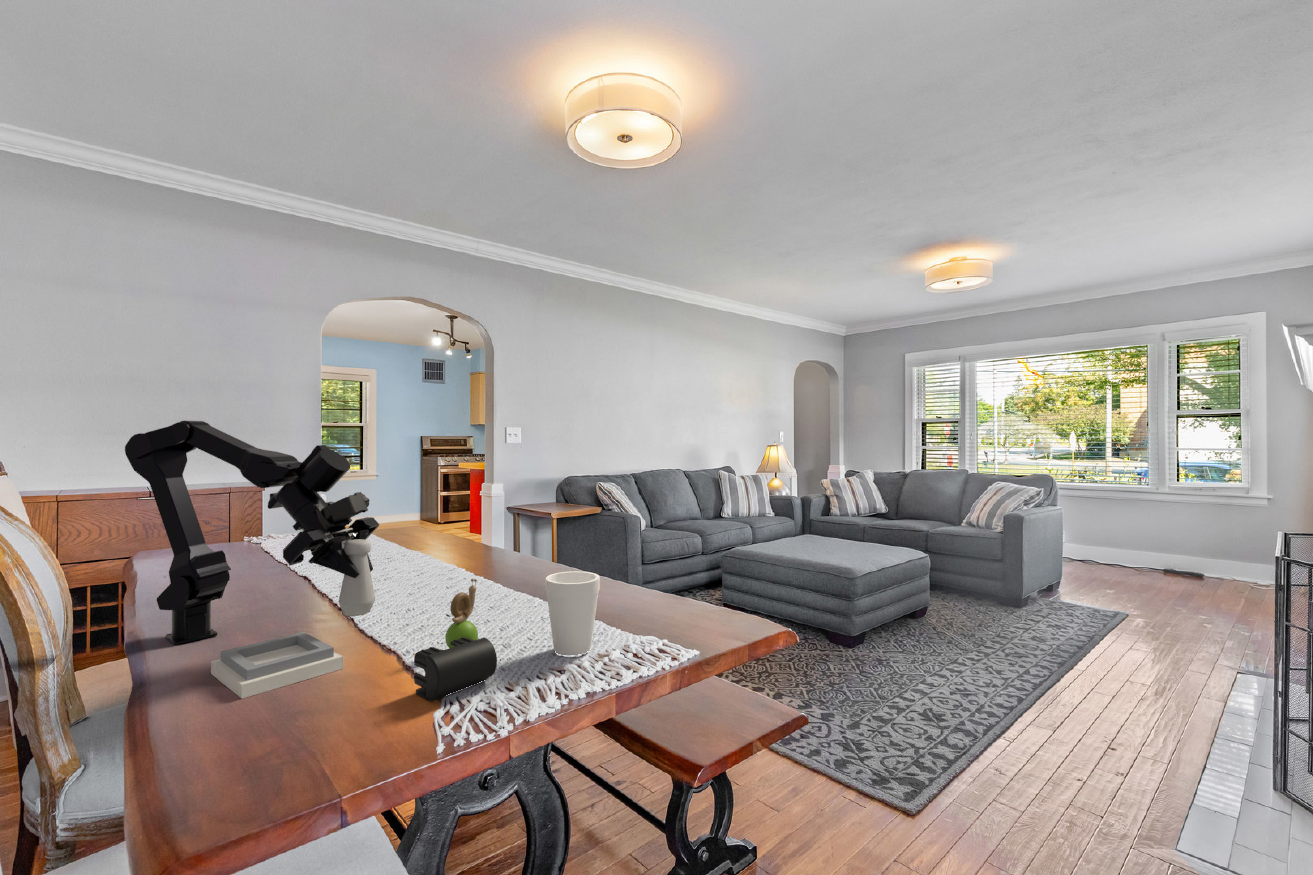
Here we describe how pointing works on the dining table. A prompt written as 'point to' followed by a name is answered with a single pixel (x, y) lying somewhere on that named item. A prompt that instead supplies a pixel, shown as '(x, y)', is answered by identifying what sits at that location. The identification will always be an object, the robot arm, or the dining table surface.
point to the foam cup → (572, 610)
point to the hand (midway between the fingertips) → (364, 573)
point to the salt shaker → (357, 581)
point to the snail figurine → (462, 617)
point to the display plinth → (274, 663)
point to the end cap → (454, 667)
